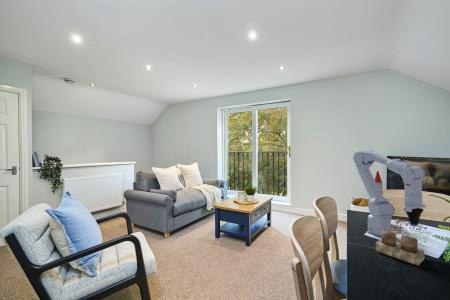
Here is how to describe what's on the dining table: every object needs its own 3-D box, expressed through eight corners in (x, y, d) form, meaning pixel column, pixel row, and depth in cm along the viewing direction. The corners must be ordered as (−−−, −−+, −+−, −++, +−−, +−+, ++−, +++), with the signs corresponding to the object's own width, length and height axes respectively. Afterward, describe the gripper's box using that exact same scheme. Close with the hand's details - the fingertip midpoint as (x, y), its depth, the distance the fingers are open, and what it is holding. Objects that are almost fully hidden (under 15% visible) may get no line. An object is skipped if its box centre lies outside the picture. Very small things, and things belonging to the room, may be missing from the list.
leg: (415, 261, 80) (414, 242, 80) (398, 256, 85) (398, 237, 85) (420, 257, 83) (419, 239, 83) (404, 252, 87) (403, 234, 87)
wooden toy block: (375, 250, 90) (375, 232, 90) (382, 245, 94) (382, 228, 94) (418, 265, 79) (418, 244, 78) (424, 258, 83) (424, 239, 83)
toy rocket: (386, 223, 119) (385, 171, 119) (375, 222, 121) (374, 171, 120) (382, 219, 125) (381, 170, 124) (371, 219, 126) (371, 170, 126)
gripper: (420, 198, 83) (421, 232, 84) (430, 192, 91) (431, 223, 91) (398, 195, 89) (399, 226, 89) (409, 190, 97) (410, 219, 97)
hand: (414, 224), depth 91 cm, fingers closed
